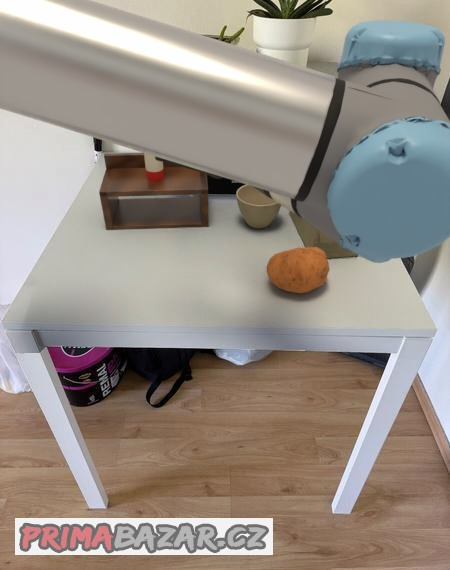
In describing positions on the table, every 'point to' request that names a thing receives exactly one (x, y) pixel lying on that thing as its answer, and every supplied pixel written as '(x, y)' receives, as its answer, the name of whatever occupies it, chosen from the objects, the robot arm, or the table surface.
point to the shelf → (151, 211)
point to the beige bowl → (256, 207)
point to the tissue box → (319, 239)
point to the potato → (298, 269)
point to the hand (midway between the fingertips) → (192, 115)
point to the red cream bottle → (153, 168)
